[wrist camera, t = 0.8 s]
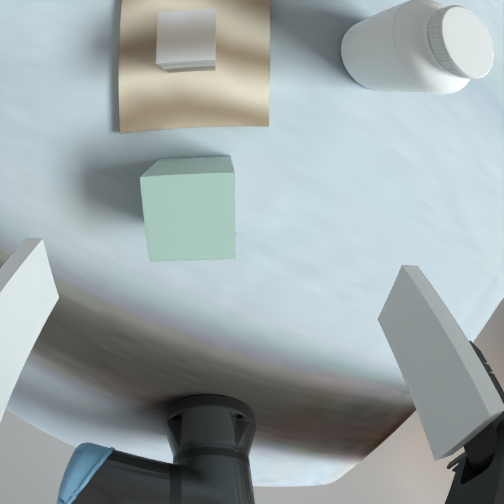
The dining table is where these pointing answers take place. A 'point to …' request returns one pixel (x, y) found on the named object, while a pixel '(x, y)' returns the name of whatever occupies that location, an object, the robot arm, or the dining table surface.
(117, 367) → the dining table surface
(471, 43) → the pill bottle
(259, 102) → the post board
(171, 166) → the mint foam cube
